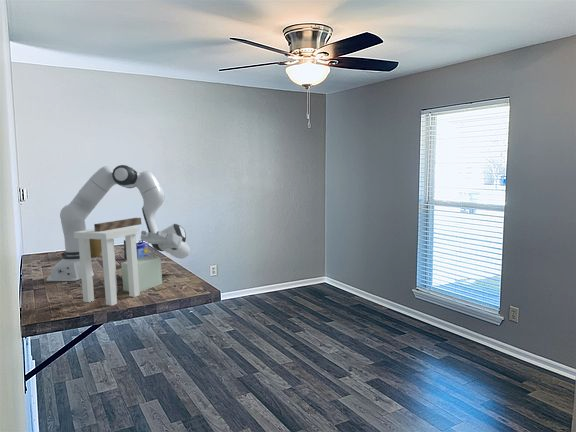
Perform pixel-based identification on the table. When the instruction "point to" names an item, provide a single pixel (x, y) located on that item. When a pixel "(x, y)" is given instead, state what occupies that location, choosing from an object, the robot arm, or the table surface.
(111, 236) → the stool
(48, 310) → the table surface
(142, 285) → the pale green cuboid block
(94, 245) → the plant pot
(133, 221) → the wooden board
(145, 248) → the ink cartridge box
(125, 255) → the phone stand
